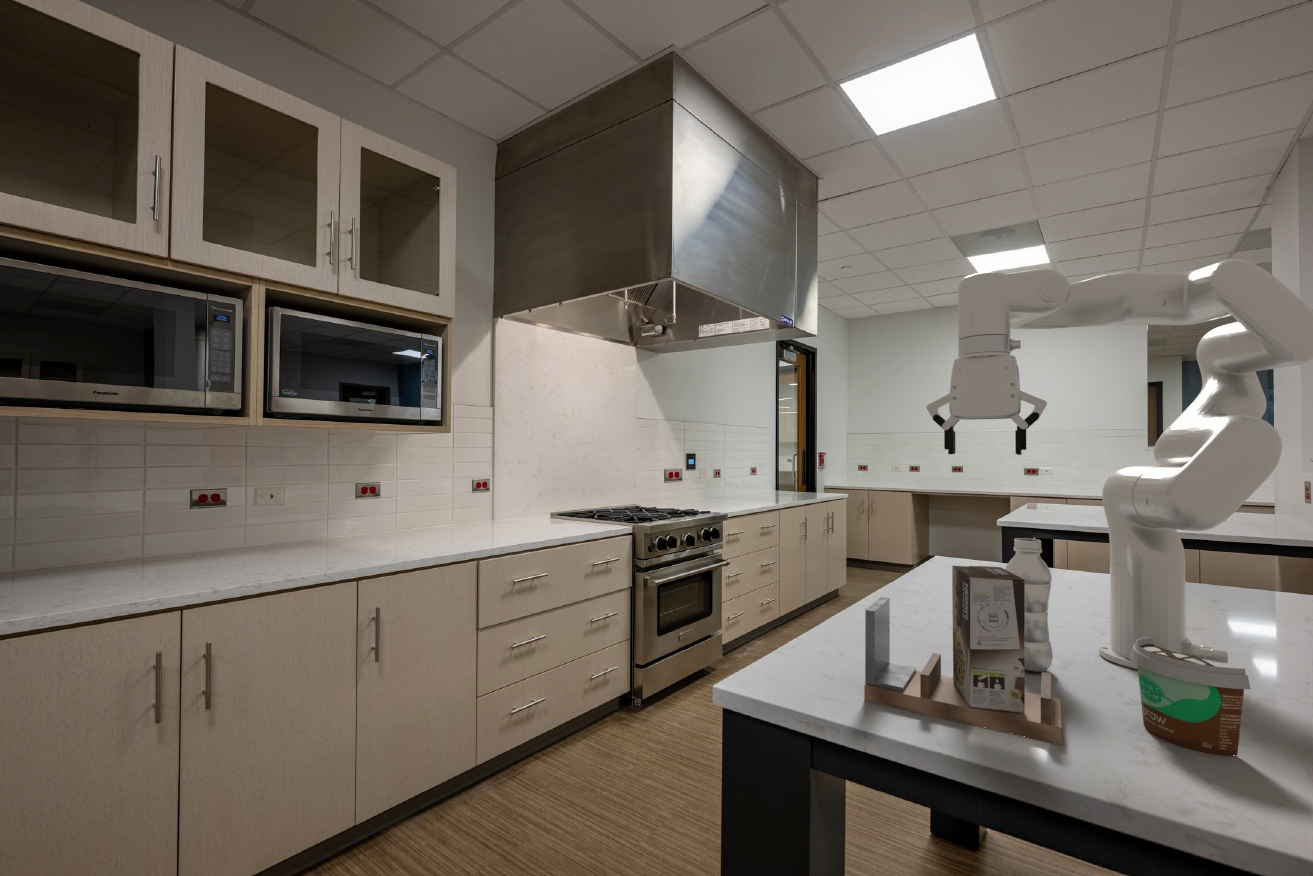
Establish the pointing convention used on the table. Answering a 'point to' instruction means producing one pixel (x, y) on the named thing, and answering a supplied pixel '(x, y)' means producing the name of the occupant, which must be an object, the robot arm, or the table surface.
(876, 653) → the bookend
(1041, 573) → the plastic bottle
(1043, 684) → the book rack
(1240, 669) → the food container
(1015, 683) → the coffee box
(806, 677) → the table surface
